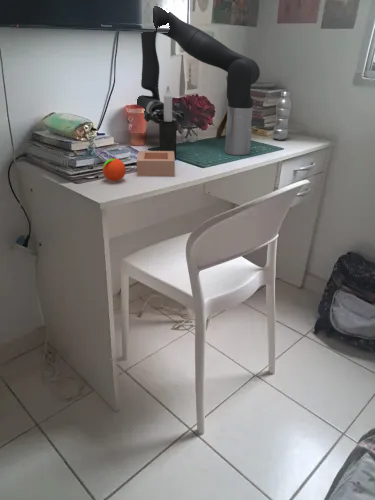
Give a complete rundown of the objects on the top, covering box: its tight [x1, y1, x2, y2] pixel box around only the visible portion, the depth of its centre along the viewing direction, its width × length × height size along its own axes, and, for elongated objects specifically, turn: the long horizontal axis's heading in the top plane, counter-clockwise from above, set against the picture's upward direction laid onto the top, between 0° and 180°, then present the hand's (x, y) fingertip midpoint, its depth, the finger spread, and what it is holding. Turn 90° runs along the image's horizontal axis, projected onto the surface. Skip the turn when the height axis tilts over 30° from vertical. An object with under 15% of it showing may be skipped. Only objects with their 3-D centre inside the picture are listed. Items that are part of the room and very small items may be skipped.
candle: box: [158, 85, 178, 159], centre depth 141 cm, size 5×5×25 cm
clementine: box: [102, 157, 126, 182], centre depth 122 cm, size 8×7×7 cm
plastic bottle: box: [272, 90, 292, 141], centre depth 174 cm, size 6×7×20 cm
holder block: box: [136, 150, 176, 177], centre depth 133 cm, size 12×12×5 cm
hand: (169, 119), depth 140 cm, fingers open, 8 cm apart
